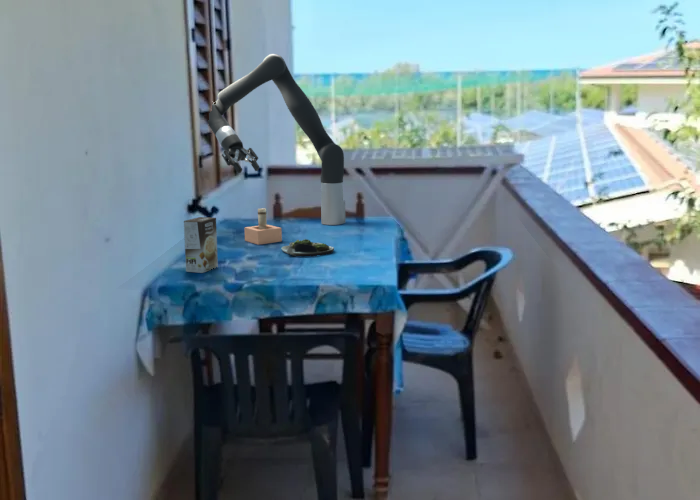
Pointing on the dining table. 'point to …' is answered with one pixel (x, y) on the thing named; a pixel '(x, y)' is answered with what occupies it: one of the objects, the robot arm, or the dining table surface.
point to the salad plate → (307, 248)
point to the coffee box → (200, 244)
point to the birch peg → (262, 218)
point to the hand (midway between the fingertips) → (249, 170)
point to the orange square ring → (263, 234)
